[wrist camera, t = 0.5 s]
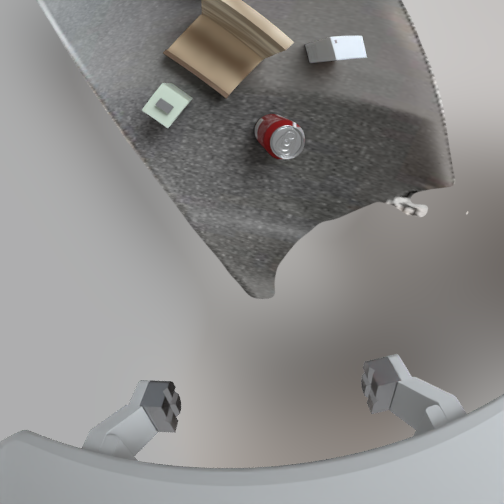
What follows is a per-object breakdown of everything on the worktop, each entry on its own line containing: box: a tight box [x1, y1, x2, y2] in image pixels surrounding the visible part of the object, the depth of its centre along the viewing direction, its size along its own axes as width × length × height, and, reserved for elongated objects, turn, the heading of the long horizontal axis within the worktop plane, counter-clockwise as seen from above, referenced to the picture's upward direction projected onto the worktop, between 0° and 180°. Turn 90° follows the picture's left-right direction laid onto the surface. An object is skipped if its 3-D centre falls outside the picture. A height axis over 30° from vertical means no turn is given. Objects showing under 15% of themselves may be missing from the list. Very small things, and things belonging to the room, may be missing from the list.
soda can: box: [255, 114, 305, 160], centre depth 47 cm, size 7×7×12 cm
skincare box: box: [305, 36, 367, 63], centre depth 38 cm, size 6×4×12 cm
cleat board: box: [163, 0, 294, 98], centre depth 34 cm, size 11×14×18 cm
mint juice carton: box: [142, 83, 193, 128], centre depth 40 cm, size 5×5×13 cm
